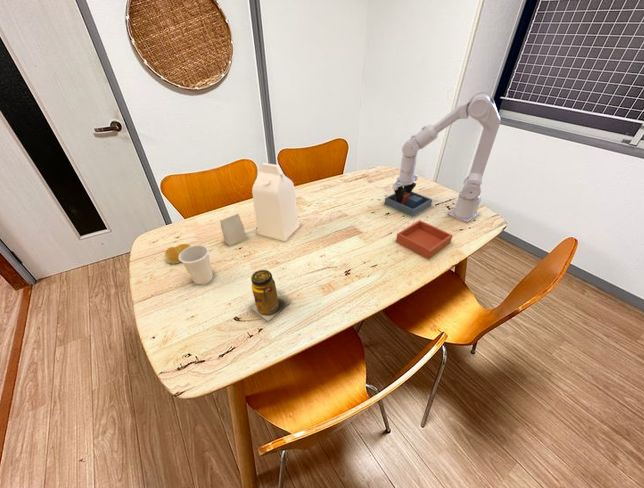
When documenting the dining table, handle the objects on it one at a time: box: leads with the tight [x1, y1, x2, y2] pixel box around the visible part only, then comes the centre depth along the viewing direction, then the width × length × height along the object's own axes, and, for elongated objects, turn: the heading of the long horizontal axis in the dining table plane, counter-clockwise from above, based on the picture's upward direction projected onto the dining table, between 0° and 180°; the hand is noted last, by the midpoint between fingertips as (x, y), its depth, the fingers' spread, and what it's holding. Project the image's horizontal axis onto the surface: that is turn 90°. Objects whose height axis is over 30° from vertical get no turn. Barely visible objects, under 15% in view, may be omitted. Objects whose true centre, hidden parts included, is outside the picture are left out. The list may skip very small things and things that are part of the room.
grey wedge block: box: [220, 213, 247, 247], centre depth 100 cm, size 4×7×10 cm, turn 131°
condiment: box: [250, 269, 291, 322], centre depth 74 cm, size 7×8×12 cm
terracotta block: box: [395, 192, 410, 205], centre depth 121 cm, size 4×4×4 cm
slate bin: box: [383, 191, 433, 218], centre depth 120 cm, size 14×15×4 cm
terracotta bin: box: [395, 219, 454, 260], centre depth 99 cm, size 14×14×4 cm
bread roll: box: [164, 243, 192, 264], centre depth 95 cm, size 8×9×4 cm
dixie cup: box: [179, 244, 214, 285], centre depth 84 cm, size 8×8×10 cm
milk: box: [251, 162, 301, 242], centre depth 100 cm, size 12×12×26 cm
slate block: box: [406, 195, 423, 209], centre depth 117 cm, size 4×4×4 cm
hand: (402, 200), depth 122 cm, fingers closed on terracotta block, 4 cm apart
